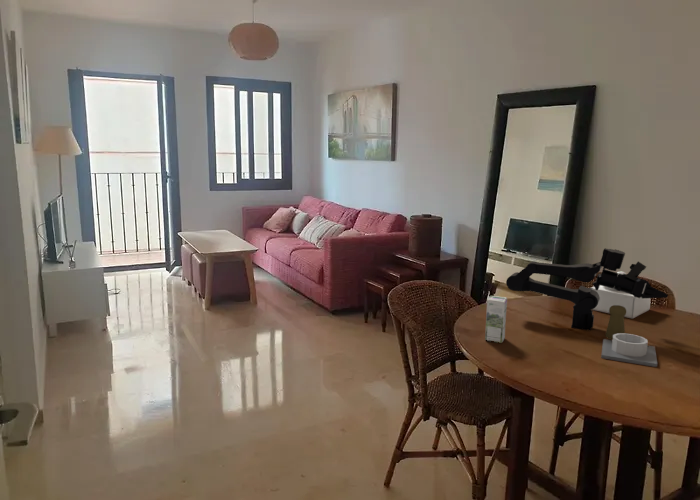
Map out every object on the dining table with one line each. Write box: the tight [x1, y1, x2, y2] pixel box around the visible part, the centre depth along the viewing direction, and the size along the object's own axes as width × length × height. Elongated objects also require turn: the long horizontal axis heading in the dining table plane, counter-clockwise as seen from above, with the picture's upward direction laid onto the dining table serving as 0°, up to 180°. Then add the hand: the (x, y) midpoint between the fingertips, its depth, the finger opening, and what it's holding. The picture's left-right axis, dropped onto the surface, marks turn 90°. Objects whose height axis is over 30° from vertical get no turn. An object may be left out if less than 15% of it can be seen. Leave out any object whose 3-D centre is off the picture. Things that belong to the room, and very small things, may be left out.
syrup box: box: [484, 295, 508, 344], centre depth 179 cm, size 6×6×14 cm
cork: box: [604, 305, 626, 340], centre depth 183 cm, size 6×6×11 cm
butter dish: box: [590, 271, 652, 320], centre depth 215 cm, size 18×18×16 cm
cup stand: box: [600, 332, 658, 368], centre depth 169 cm, size 15×16×5 cm
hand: (666, 295), depth 179 cm, fingers open, 9 cm apart
